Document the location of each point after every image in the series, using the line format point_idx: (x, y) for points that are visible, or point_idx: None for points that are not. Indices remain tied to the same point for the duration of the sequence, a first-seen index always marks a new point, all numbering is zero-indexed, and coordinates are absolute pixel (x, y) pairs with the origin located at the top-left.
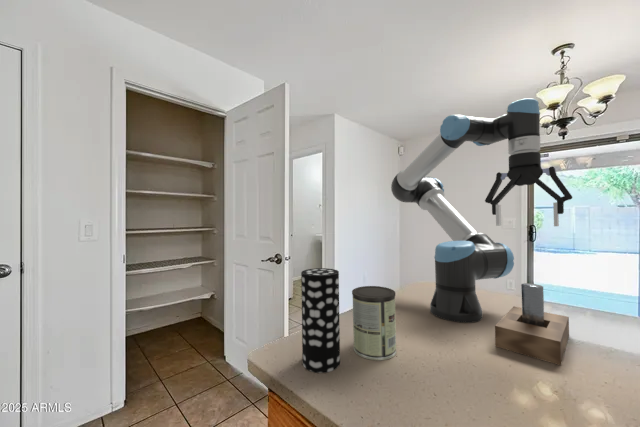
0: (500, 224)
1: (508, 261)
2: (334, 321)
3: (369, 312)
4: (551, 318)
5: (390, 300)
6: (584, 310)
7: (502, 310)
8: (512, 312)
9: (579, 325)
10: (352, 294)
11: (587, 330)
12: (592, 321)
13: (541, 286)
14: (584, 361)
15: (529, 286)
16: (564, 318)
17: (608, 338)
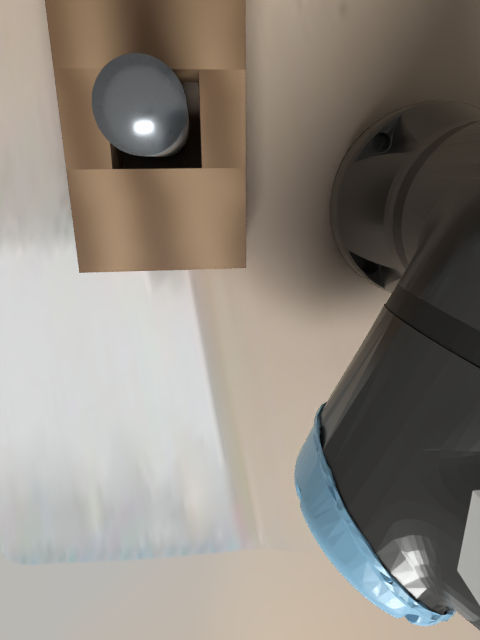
0: (468, 556)
1: (316, 451)
2: None
3: None
4: (115, 206)
5: None
6: (107, 536)
7: (296, 364)
8: (232, 177)
9: (91, 380)
10: None
11: (67, 349)
12: (72, 445)
13: (101, 115)
14: (22, 60)
15: (142, 66)
16: (85, 240)
17: (14, 319)
